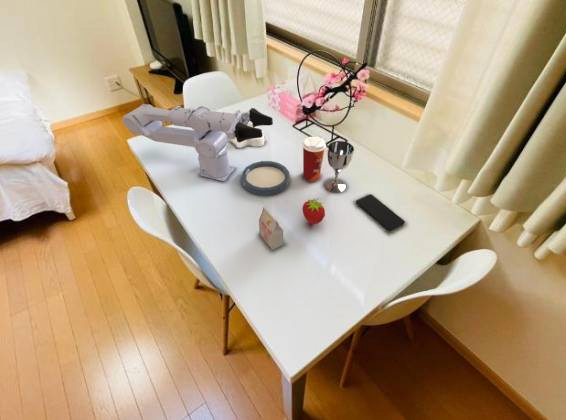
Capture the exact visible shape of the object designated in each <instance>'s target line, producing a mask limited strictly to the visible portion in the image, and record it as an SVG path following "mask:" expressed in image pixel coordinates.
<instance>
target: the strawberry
mask: <svg viewBox="0 0 566 420" xmlns="http://www.w3.org/2000/svg"><path fill="white" fill-rule="evenodd" d="M318 199H319V198H317V199H316V200H315V198H313V199H307V201H304V203H303V205H302V208H301V210H302V214H303V217H304V218H305V220H306V221H307V222H308V223H309V225H311V226H315V225H318V224H319V223H321V222H322V221H323V220H324V218H325V216H326V211H325V207H324V206H323V204H324V201H323V202H321V201H318Z"/></svg>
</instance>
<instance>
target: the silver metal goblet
mask: <svg viewBox="0 0 566 420" xmlns="http://www.w3.org/2000/svg"><path fill="white" fill-rule="evenodd" d="M354 151H355V147H354V146H353V145H352V144H351V143H349V142H347V141H343V140H335V141H332V142H330V143H329V144H328V146H327V154H326V155H327V163H328V165H329V167H330V168H331V169H332V170H333V171H334V178H331V179H328V180H326V181H325V182H324V188H325V189H326V190H327V191H329V192H330V193H336V194H337V193H338V194H339V193H342V192H344V191H345V190H346V184H345V183H344V181H342V180H340V179H338V177H339V174H340V173H341V172H342V171H343V170H345V169H346V168H348V167H349V165H350V164H351V161H352V159H353V156H354V153H355V152H354Z"/></svg>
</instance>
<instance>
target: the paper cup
mask: <svg viewBox="0 0 566 420" xmlns="http://www.w3.org/2000/svg"><path fill="white" fill-rule="evenodd" d="M301 145H302V155H303V156H302V161H303V162H302V168H303V169H302V170H303V171H302V172H303V173H302V175H303V179H304V180H306V181H308V182H317V181H318V180H319V179H320V176H321V171H322V166H323V160H324V154H325V149H326V148H327V143H326V141H325V140H324V139H323V138H321V137H320V136H308V137H306V138H304V140H303V142H302V144H301Z"/></svg>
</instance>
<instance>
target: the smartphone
mask: <svg viewBox="0 0 566 420" xmlns="http://www.w3.org/2000/svg"><path fill="white" fill-rule="evenodd" d="M355 204H357V206H358V207H360V208H361V209H362V210H363V211H364V212H365V213H367V214H368V215H369V216H370V217H371V218H372V219H374V220H375V221H376V222H377V223H378V224H379V225H380V226H382V227H383V228H384V229H385V230H386V231H388V232H391V231H393V230H395V229H397V228H398V227H400V226H403V225H404V224H405V222H406V221H405V220H404V219H403V218H402V217H400V216H399V215H398V214H397V213H395V212H394V211H393V210H392V209H390V208H389V207H388V206H386V204H384V203H383V202H382V201H381V200H379V199H378V198H377V197H375V196H374V195H373V194H367V195H365V196H363V197H360V198H358V199H357V200H355Z"/></svg>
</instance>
